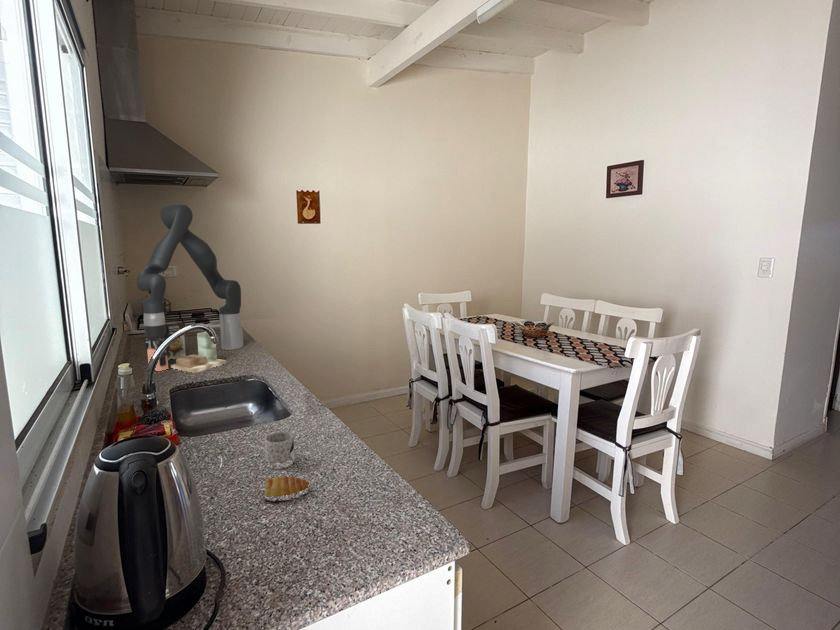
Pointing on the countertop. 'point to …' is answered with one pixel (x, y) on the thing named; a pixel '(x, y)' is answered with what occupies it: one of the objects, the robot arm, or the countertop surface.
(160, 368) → the brick block
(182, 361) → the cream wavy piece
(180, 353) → the coffee box
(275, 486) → the pastry
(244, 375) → the countertop surface
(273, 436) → the mug
